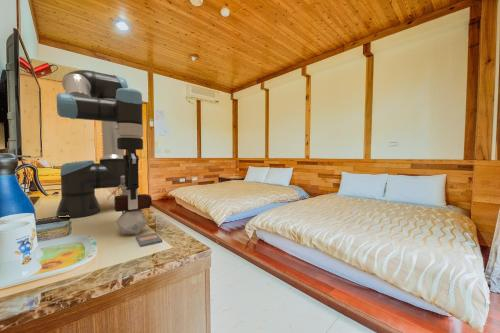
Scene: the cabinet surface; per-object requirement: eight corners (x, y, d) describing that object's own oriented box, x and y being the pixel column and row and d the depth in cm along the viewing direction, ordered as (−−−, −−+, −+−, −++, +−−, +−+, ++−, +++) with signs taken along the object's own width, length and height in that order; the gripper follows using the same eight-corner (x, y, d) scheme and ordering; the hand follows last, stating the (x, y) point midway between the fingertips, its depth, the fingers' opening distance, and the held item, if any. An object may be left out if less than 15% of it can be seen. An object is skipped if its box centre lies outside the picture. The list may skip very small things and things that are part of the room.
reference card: (135, 238, 69) (135, 236, 69) (155, 234, 73) (155, 232, 73) (140, 246, 63) (140, 244, 63) (162, 242, 66) (162, 239, 66)
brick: (115, 212, 69) (115, 197, 69) (114, 209, 72) (114, 195, 72) (151, 208, 76) (151, 194, 75) (149, 206, 79) (149, 193, 79)
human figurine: (107, 224, 83) (106, 176, 82) (107, 221, 86) (106, 175, 85) (142, 219, 89) (141, 175, 88) (141, 217, 92) (140, 174, 92)
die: (125, 241, 68) (146, 214, 71) (105, 226, 69) (125, 200, 72) (138, 241, 76) (156, 217, 78) (119, 227, 77) (137, 204, 80)
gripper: (114, 138, 77) (116, 204, 78) (120, 135, 63) (122, 215, 65) (138, 139, 81) (139, 201, 83) (148, 136, 68) (149, 211, 69)
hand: (131, 207), depth 74 cm, fingers closed on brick, 4 cm apart
